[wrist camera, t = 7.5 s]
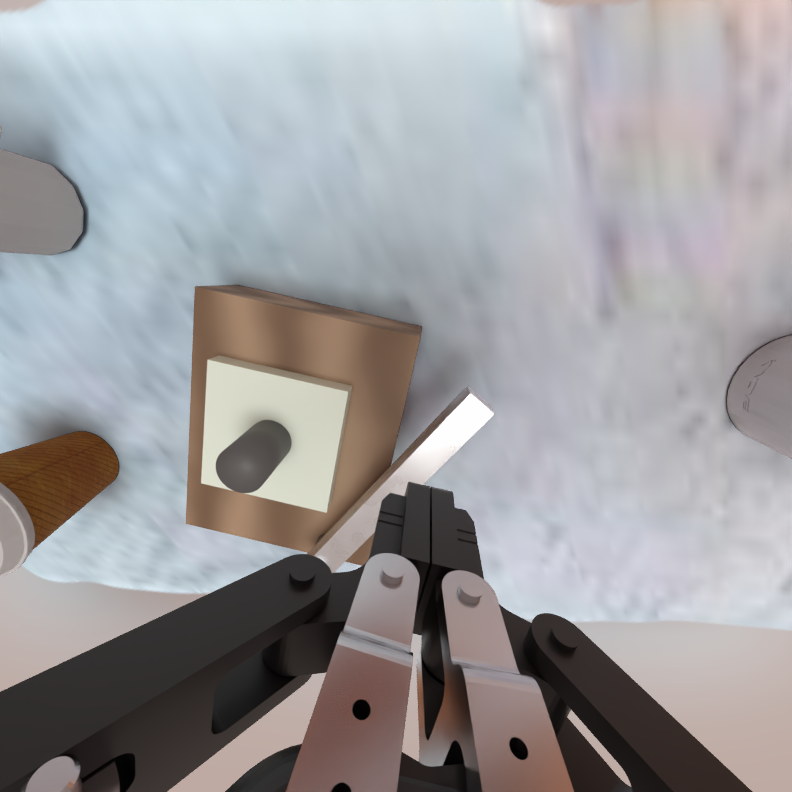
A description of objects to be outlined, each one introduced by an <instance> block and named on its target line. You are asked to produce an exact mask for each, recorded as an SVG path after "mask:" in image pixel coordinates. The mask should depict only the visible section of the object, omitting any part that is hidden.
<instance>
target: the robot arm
mask: <svg viewBox="0 0 792 792" xmlns="http://www.w3.org/2000/svg"><path fill="white" fill-rule="evenodd" d="M727 408H728V413H729V416H730V418H731V421H732V422H733V423H734V425H735V426H736V428H737V429H738V430H740V431H741V432H742V433H743V434H745V435H746V436H748V437H750V438H752V439H754V440H756V441H758V442H760V443H762V444H764V445H766V446H768V447H770V448H772V449H774V450H776V451H778V452H780V453H782V454H784V455H786V456H788V457H789V458H791V459H792V335H789V336H786V337H783V338H780V339H777V340H774V341H772V342H771V343H769V344H767V345H765V346H763V347H761V348H760V349H759V350H757V351H756V352H755V353H754V354H752V355H751V356H750V357H749V358H748V359H747V360H746V361H745V362H744V363H743V364H742V365H741V366H740V368H739V369H738V371H737V372H736V374H735V376H734V377H733V379H732V382H731V384H730V387H729V390H728V396H727ZM413 633H414V634H418V635H422V647H421V650H420V653H419V656H418V659H417V691H418V692H417V694H418V720H419V748H420V749H419V762H418V761H416V760H414V759H413V758H411V757H409V756H408V755H406V754H404V753H403V752H402V745H403V737H404V729H405V721H406V712H407V704H408V697H409V689H410V680H411V672H412V663H413V653H412V652H410V649H411V641H412V634H413ZM325 672H327V673H326V676H325V679H324V682H323V684H322V688H321V690H320V693H319V696H318V699H317V702H316V705H315V708H314V711H313V714H312V717H311V719H310V723H309V725H308V728H307V731H306V734H305V737H304V740H303V743H302V744H300V745H296V746H292V747H289V748H286V749H284V750H281V751H279V752H277V753H275V754H273V755H271V756H269V757H267V758H266V759H264V760H262V761H261V762H260V763H258V764H257V765H255V766H254V767H253V768H251V769H250V770H249V771H247V772H246V773H245V774H244V775H243V776H242V777H241V778H239V779H238V780H237V781H236V782H235V783H234V784H233V785H232V786H231V787H230V788H229V789H228V790H226V791H225V792H752V791H751V790H750V789H749V788H748V787H747V786H746V785H745V784H743V782H741V781H740V780H739V779H738V778H737V777H736V776H735V775H734V774H733V773H732V772H731V771H730V770H729V769H728V768H726V767H725V766H724V765H723V764H722V763H721V762H720V761H719V760H718V759H717V758H716V757H715V756H714V755H713V754H712V753H711V752H709V751H708V750H707V749H706V748H705V747H704V746H703V745H702V744H701V743H700V742H699V741H698V740H697V739H696V738H695V737H693V736H692V735H691V734H690V733H689V732H688V731H687V730H686V729H685V728H684V727H683V726H682V725H681V724H680V723H679V722H677V721H676V720H675V719H674V718H673V717H672V716H671V715H670V714H669V713H668V712H667V711H666V710H665V709H664V708H663V707H662V706H661V705H659V704H658V703H657V702H656V701H655V700H654V699H653V698H652V697H651V696H650V695H649V694H648V693H647V692H646V691H645V690H643V689H642V688H641V687H640V686H639V685H638V684H637V683H636V682H635V681H634V680H633V679H632V678H631V677H630V676H629V675H627V674H626V673H625V672H624V671H623V670H622V669H621V668H620V667H619V666H618V665H617V664H616V663H615V662H614V661H612V660H611V659H610V658H609V657H608V656H607V655H606V654H605V653H604V652H603V651H602V650H601V649H600V648H599V647H598V646H596V644H594V643H593V642H592V641H591V640H590V639H589V638H588V637H587V636H586V635H585V634H584V633H583V632H582V631H581V630H580V629H578V628H577V627H576V626H575V625H574V624H572V623H571V622H569V621H568V620H566V619H564V618H562V617H560V616H557V615H554V614H549V613H544V614H539V615H537V616H536V617H535V618H534V619H533V621H532V623H530V622H528V621H526V620H524V619H522V618H520V617H519V616H517V615H515V614H513V613H511V612H509V611H507V610H506V609H505V608H503V607H502V606H501V605H499V603H498V600H497V597H496V594H495V592H494V590H493V589H492V587H491V586H490V585H489V584H488V583H487V582H486V581H485V580H484V577H483V571H482V566H481V560H480V554H479V549H478V545H477V537H476V532H475V526H474V521H473V520H472V519H471V517H470V516H469V514H468V513H467V511H466V510H462V509H458V508H455V507H454V497H453V492H452V491H447V490H443V489H439V488H435V487H431V488H430V486H426V485H422V484H417V483H413V482H408V484H407V488H406V492H405V496H402V495H398V494H394V493H389V494H388V495H387V496H386V497H385V498H384V499H383V500H382V502H381V507H380V511H379V515H378V519H377V524H376V528H375V532H374V537H373V541H372V546H371V550H370V555H369V559H368V560H367V562H366V563H365V564H364V565H363V566H361V567H360V568H358V569H356V570H353V571H350V572H342V573H332V572H331V570H330V568H329V566H328V565H327V564H326V563H325V562H324V561H323V560H321V559H320V558H317V557H315V556H312V555H306V554H298V555H293V556H289V557H287V558H284V559H282V560H280V561H278V562H276V563H274V564H272V565H269V566H267V567H265V568H263V569H261V570H259V571H257V572H255V573H252V574H250V575H248V576H246V577H244V578H242V579H240V580H238V581H235V582H233V583H231V584H229V585H227V586H225V587H223V588H220V589H218V590H216V591H214V592H212V593H210V594H208V595H206V596H203V597H201V598H199V599H197V600H195V601H193V602H191V603H189V604H187V605H185V606H182V607H180V608H178V609H176V610H174V611H172V612H170V613H167V614H165V615H163V616H161V617H159V618H157V619H155V620H153V621H150V622H149V623H146V624H144V625H142V626H140V627H138V628H135V629H133V630H131V631H129V632H127V633H125V634H123V635H120V636H118V637H117V638H114V639H112V640H110V641H108V642H106V643H104V644H101V645H99V646H97V647H95V648H93V649H91V650H89V651H87V652H84V653H82V654H80V655H78V656H76V657H74V658H72V659H70V660H67V661H65V662H63V663H61V664H59V665H57V666H55V667H52V668H50V669H48V670H46V671H44V672H42V673H40V674H38V675H36V676H33V677H31V678H29V679H27V680H25V681H23V682H20V683H18V684H16V685H14V686H12V687H10V688H8V689H6V690H4V691H1V692H0V792H167V791H168V790H169V789H171V788H172V787H173V786H175V785H176V784H177V783H178V782H180V781H181V780H182V779H184V778H185V777H186V776H187V775H189V774H190V773H191V772H192V771H194V770H195V769H196V768H198V767H199V766H200V765H201V764H203V763H204V762H205V761H207V760H208V759H209V758H210V757H212V756H213V755H214V754H216V753H217V752H218V751H219V750H221V749H222V748H223V747H224V746H226V745H227V744H228V743H230V742H231V741H232V740H233V739H235V738H236V737H237V736H239V735H240V734H241V733H242V732H244V731H245V730H246V729H247V728H249V727H250V726H251V725H253V724H254V723H255V722H256V721H258V720H259V719H260V718H262V717H263V716H264V715H265V714H267V713H268V712H269V711H270V710H272V709H273V708H274V707H275V706H277V705H278V704H279V703H281V702H282V701H283V700H284V699H286V698H287V697H288V696H290V695H291V694H292V693H293V692H295V691H296V690H297V689H299V688H300V687H301V686H302V685H304V684H305V682H307V681H308V680H309V678H310V677H311V675H312V674H317V673H325ZM570 710H572V711H573V712H574V713H575V714H576V715H577V716H578V718H579V719H580V720H581V721H582V722H583V723H584V725H586V726H587V728H588V729H589V730H590V731H591V733H592V734H593V735H594V736H595V737H596V738H597V739H598V740H599V742H600V743H601V744H602V745H603V746H604V747H605V748H606V749H607V751H608V752H609V753H610V754H611V755H612V756H613V758H614V759H615V760H616V761H617V762H618V763H619V765H620V766H621V767H622V768H623V770H624V771H625V773H626V774H627V776H628V778H629V781H630V783H631V787H630V786H628V785H627V784H625V783H624V782H623V781H622V780H620V778H619V777H618V776H617V775H616V774H615V773H614V771H613V770H612V769H611V768H610V767H609V766H608V764H607V763H606V762H605V761H604V760H603V758H602V757H601V756H600V755H599V754H598V753H597V751H596V750H595V749H594V748H593V747H592V746H591V744H590V743H589V742H588V741H587V740H586V739H585V737H584V736H583V735H582V734H581V733H580V732H579V730H578V729H577V728H576V727H575V726H574V725H573V723H572V722H571V721H570V720H569V719H568V718H567V716H568V714H569V712H570Z"/></svg>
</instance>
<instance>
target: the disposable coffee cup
mask: <svg viewBox="0 0 792 792" xmlns="http://www.w3.org/2000/svg"><path fill="white" fill-rule="evenodd" d="M118 471H119V463H118V459H117V457H116V455H115V453H114V451H113V449H112V448H111V447H110V446H109V445H108V443H106V442H105V441H104V440H103V439H101V438H100V437H98V436H97V435H94V434H92V433H88V432H82V431H78V432H73V433H70V434H66V435H63V436H60V437H56V438H53V439H50V440H46V441H43V442H39V443H36V444H32V445H29V446H26V447H22V448H19V449H15V450H12V451H9V452H5V453H2V454H0V576H4V575H7V574H9V573H12V572H14V571H15V570H16V569H18V568H19V567H20V566H21V565H22V564H23V563H24V562H25V560H26V558H27V557H28V555H29V554H30V553H31V552H32V550H33V549H34V548H35V547H37V546H38V545H39V544H40V543H41V542H42V541H44V540H45V539H46V538H47V537H48V536H50V535H51V534H52V533H53V532H54V531H55V530H57V529H58V528H59V527H60V526H61V525H63V524H64V523H65V522H66V521H67V520H68V519H70V518H71V517H72V516H73V515H74V514H75V513H76V512H77V511H79V510H80V509H81V508H82V507H84V506H85V505H86V504H87V503H88V502H90V501H91V500H92V499H93V498H94V497H95V496H96V495H97V494H99V493H100V492H101V491H102V490H104V489H105V488H106V487H107V486H108V485H110V484H111V483H112V482H113V481H114V480H115V479H116V477H117V475H118Z"/></svg>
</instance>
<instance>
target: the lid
mask: <svg viewBox="0 0 792 792" xmlns="http://www.w3.org/2000/svg"><path fill="white" fill-rule="evenodd" d="M351 391H352V386H351V385H346V384H342V383H338V382H333V381H329V380H325V379H320V378H316V377H311V376H307V375H303V374H298V373H294V372H290V371H285V370H281V369H277V368H272V367H268V366H263V365H259V364H255V363H250V362H246V361H242V360H237V359H233V358H228V357H224V356H220V355H219V356H216V357H213V358H211V359H208V360H207V378H206V398H205V417H204V436H203V456H202V475H201V483H202V484H206V485H210V486H215V487H219V488H223V489H227V490H232V491H235V492H239V493H244V494H249V495H253V496H257V497H261V498H266V499H270V500H274V501H278V502H283V503H287V504H291V505H295V506H300V507H304V508H308V509H312V510H317V511H321V512H325V513H327V511H328V508H329V506H330V504H331V501H332V496H333V490H334V485H335V479H336V474H337V468H338V463H339V457H340V452H341V446H342V441H343V435H344V430H345V424H346V419H347V413H348V408H349V402H350V397H351Z"/></svg>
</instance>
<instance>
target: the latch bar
mask: <svg viewBox="0 0 792 792" xmlns="http://www.w3.org/2000/svg"><path fill="white" fill-rule="evenodd" d="M493 415H494V412H493V410H492V408H491V406H490V404H489V403H488V402H486V401H485V400H484V399H483V398H482V397H481V396H479V395H478V394H477V393H476V392H475V391H474V390H472V389H471V388H470V387H469V386H467V387H466V388H465V389H464V390H463V391H462V392H461V393H460V394H459V395H458V396H457V397H456V398H455V399H454V400H453V401H452V402H451V403H450V404H449V406H448V407H447V408H446V409H445V410H444V411H443V412H442V413H441V414H440V415H439V416H438V417H437V418H436V419H435V420H434V421H433V422H432V423H431V424H430V425H429V426H428V428H427V429H426V430H425V431H424V432H423V433H422V434H421V435H420V436H419V437H418V438H417V439H416V440H415V441H414V442H413V443H412V444H411V445H410V446H409V447H408V448H407V450H406V451H405V452H404V453H403V454H402V455H401V456H400V457H399V458H398V459H397V460H396V461H395V462H394V463H393V464H392V465H391V466H390V467H389V468H388V469H387V470H386V472H385V473H384V474H383V475H382V476H381V477H380V478H379V479H378V480H377V481H376V482H375V483H374V484H373V485H372V486H371V487H370V488H369V489H368V490H367V491H366V492H365V494H364V495H363V496H362V497H361V498H360V499H359V500H358V501H357V502H356V503H355V504H354V505H353V506H352V507H351V508H350V509H349V510H348V511H347V512H346V513H345V514H344V516H343V517H342V518H341V519H340V520H339V521H338V522H337V523H336V524H335V525H334V526H333V527H332V528H331V529H330V530H329V531H328V532H327V533H326V534H325V535H324V536H323V538H322V539H321V540H320V541H319V542H318V543H317V544H316V545H315V546H314V547H313V548H312V549H311V550H310V551H309V552H308V553H307V554H306V555H312V556H315V557H317V558H320V559H321V560H323V561H324V562H325V563H326V564H327V565H328V566H329V568H330V570H331V572H332V573H334V572H335V571H336V570H337V569H338V568H339V567H340V566H341V565H342V564H343V563H344V562H345V561H346V560H347V559H348V558H349V557H350V556H351V555H352V554H353V553H354V552H355V551H356V550H357V549H358V548H359V547H360V546H361V545H362V544H363V543H364V542H365V541H366V540H367V539H368V538H369V537H370V536H371V535H372V534H373V533H374V532H375V528H376V524H377V519H378V515H379V511H380V507H381V502H382V500H383V499H384V498H385V497H386V496H387V495H388V494H389V493H394V494H398V495H402V496H405V492H406V488H407V484H408V482H413V483H417V484H422V485H423V484H424V483H425V482H426V481H427V480H428V479H429V478H430V477H431V476H432V475H433V474H434V473H435V472H436V471H437V470H438V469H439V468H440V467H441V466H442V465H443V464H444V463H445V462H446V461H447V460H448V459H449V458H450V457H451V456H452V455H453V454H454V453H456V452H457V451H458V450H459V449H460V448H461V447H462V446H463V445H464V444H465V443H466V442H467V441H468V440H469V439H470V438H471V437H472V436H473V435H474V434H475V433H476V432H477V431H478V430H479V429H480V428H481V427H482V426H483V425H484V424H485V423H486V422H487V421H488V420H489V419H490V418H491V417H492V416H493Z"/></svg>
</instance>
